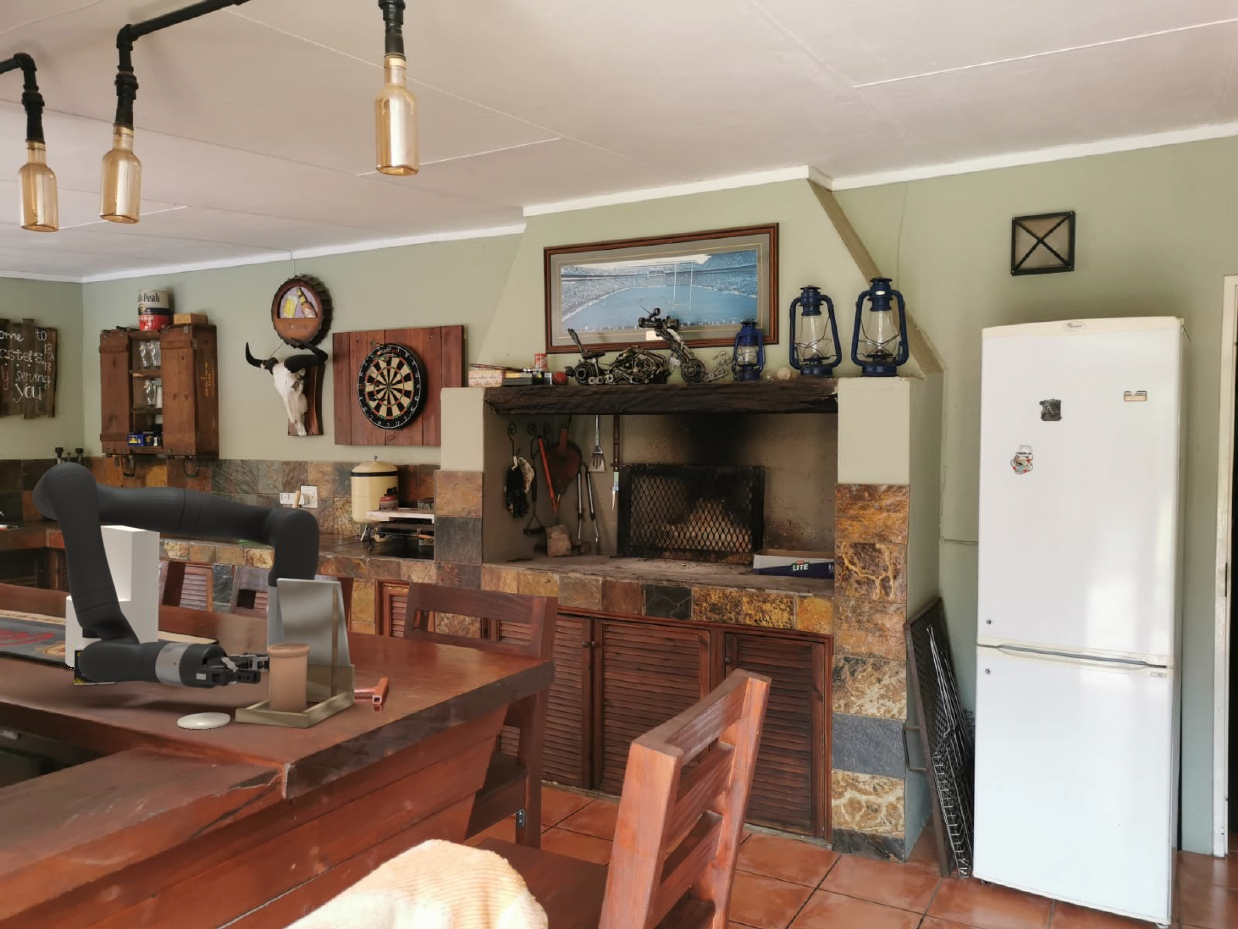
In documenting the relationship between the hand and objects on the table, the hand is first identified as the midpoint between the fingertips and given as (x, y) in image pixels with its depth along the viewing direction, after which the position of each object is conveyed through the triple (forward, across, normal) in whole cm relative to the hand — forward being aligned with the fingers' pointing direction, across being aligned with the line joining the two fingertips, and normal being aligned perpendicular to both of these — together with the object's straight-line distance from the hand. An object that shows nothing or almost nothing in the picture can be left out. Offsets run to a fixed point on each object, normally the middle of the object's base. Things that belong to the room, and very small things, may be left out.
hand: (274, 671), depth 161 cm
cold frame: (+2, +3, +8) cm, 9 cm away
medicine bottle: (-46, +12, +8) cm, 48 cm away
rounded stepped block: (-56, +27, +8) cm, 62 cm away
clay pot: (+3, 0, +8) cm, 8 cm away
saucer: (-8, -7, +8) cm, 13 cm away
